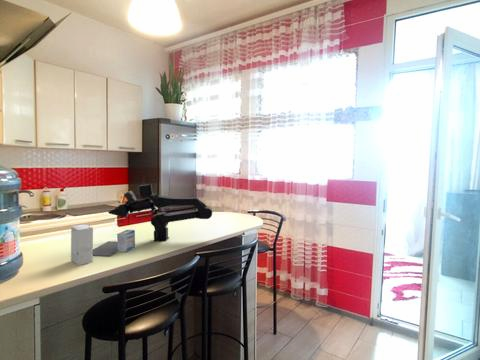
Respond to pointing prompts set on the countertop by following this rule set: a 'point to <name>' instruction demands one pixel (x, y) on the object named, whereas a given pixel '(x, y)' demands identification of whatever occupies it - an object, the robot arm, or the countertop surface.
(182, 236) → the countertop surface
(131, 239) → the medicine box
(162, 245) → the countertop surface
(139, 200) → the robot arm
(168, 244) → the countertop surface
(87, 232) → the skincare box
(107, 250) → the mat
